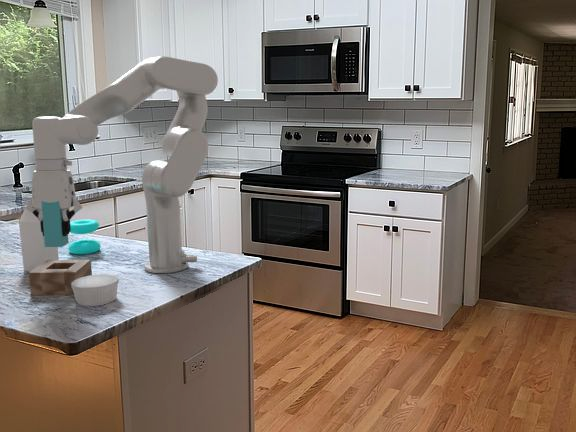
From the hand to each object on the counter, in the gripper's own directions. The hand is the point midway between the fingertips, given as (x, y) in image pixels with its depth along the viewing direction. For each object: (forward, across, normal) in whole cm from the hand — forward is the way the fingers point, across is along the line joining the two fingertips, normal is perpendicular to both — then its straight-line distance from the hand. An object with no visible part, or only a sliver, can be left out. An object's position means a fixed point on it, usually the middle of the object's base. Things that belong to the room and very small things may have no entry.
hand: (56, 234), depth 161 cm
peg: (+3, 0, 0) cm, 3 cm away
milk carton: (+15, +12, -18) cm, 27 cm away
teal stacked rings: (+15, +6, -38) cm, 42 cm away
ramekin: (+15, -13, +10) cm, 22 cm away
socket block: (+15, -1, 0) cm, 15 cm away
